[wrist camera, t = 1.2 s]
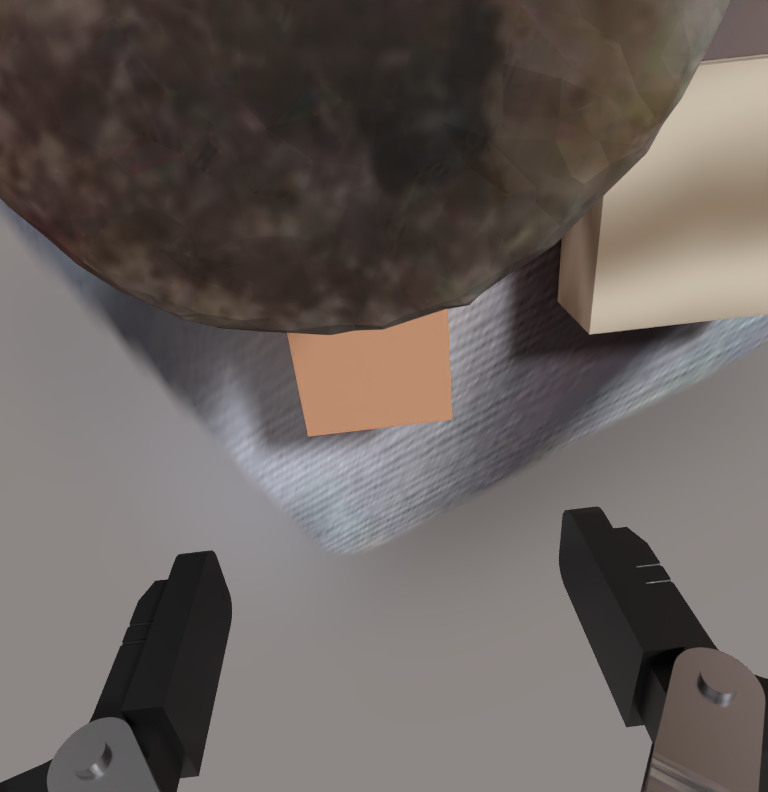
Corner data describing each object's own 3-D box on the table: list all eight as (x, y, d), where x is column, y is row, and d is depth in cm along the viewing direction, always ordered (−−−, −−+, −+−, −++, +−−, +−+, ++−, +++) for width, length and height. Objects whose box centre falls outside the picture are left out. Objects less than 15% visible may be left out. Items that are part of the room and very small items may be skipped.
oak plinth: (572, 75, 22) (615, 75, 18) (808, 49, 22) (896, 43, 18) (557, 301, 26) (589, 334, 23) (750, 279, 27) (811, 308, 23)
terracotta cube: (293, 252, 25) (279, 298, 19) (424, 237, 25) (446, 279, 20) (314, 369, 28) (308, 436, 22) (431, 356, 28) (452, 419, 23)
